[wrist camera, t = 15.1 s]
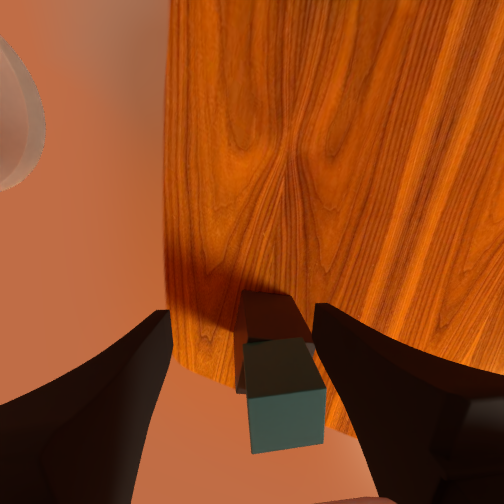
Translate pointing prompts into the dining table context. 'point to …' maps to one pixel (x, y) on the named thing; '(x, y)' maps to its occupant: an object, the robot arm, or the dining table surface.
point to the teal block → (283, 395)
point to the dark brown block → (266, 325)
